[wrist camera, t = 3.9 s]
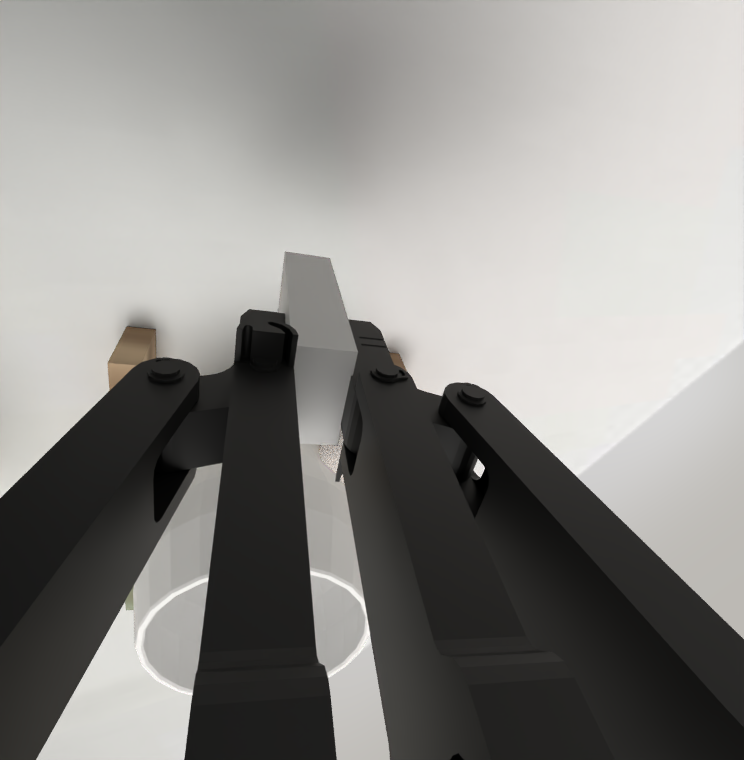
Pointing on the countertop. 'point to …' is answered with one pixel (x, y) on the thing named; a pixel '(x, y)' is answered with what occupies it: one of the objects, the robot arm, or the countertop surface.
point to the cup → (192, 564)
